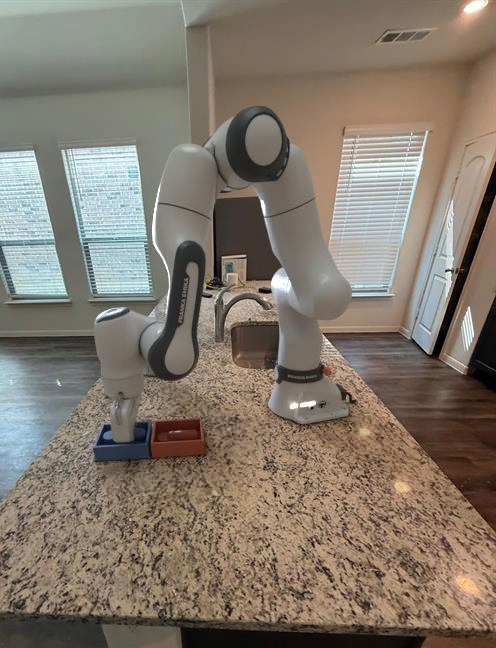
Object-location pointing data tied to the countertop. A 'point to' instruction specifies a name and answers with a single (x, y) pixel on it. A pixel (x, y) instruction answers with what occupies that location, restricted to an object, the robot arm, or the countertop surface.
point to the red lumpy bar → (178, 436)
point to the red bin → (177, 446)
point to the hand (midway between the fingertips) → (131, 433)
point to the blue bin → (123, 445)
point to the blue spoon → (139, 435)
